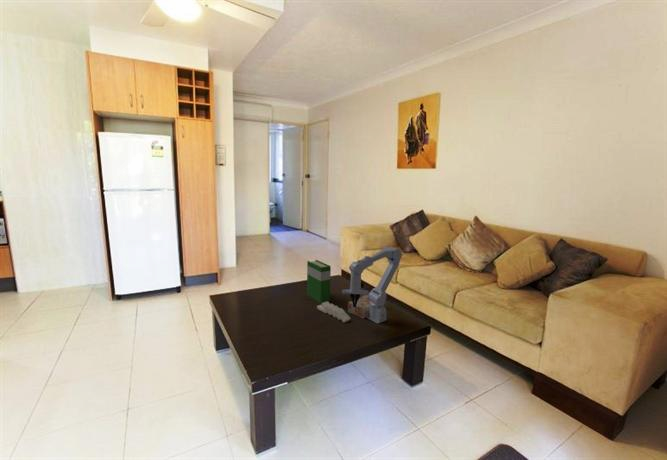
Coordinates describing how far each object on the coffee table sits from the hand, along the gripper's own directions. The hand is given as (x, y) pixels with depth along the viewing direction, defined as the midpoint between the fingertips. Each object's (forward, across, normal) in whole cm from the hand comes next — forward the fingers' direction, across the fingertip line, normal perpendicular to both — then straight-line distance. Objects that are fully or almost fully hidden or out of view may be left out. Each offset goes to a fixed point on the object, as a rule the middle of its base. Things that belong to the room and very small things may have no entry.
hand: (354, 306), depth 178 cm
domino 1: (+10, +15, -13) cm, 22 cm away
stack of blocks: (+7, -3, -23) cm, 24 cm away
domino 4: (+10, +6, -5) cm, 13 cm away
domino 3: (+10, +9, -8) cm, 16 cm away
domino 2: (+10, +12, -11) cm, 19 cm away
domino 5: (+10, +4, -2) cm, 11 cm away
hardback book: (+11, +24, -36) cm, 44 cm away
